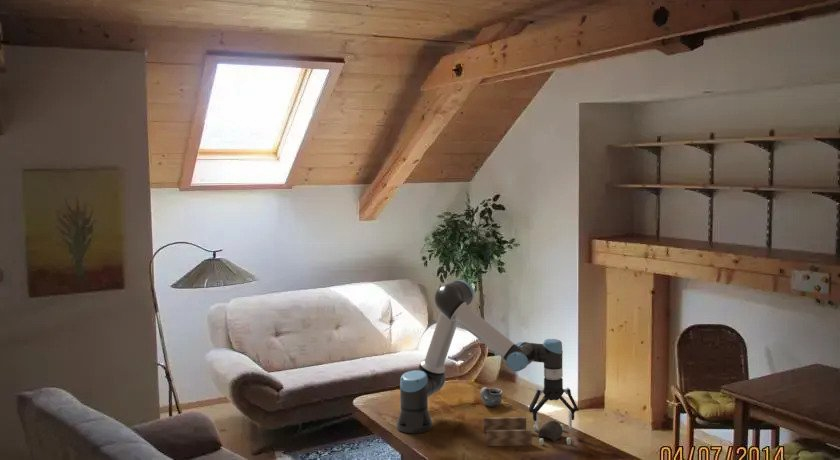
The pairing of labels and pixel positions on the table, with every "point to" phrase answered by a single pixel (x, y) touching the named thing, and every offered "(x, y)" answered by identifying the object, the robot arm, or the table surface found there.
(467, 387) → the table surface
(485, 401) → the mug
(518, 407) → the table surface
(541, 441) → the zone posts
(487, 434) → the channel
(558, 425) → the stone
